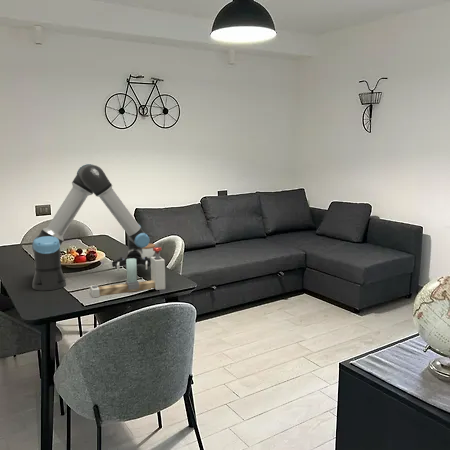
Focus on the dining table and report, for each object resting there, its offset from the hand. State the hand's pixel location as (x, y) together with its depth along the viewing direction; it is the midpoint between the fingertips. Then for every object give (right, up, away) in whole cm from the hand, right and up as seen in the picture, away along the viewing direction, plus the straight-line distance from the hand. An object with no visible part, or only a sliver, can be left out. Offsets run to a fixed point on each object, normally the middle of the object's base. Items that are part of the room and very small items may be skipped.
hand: (132, 267), depth 221 cm
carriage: (+1, -9, -6) cm, 11 cm away
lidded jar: (-3, 0, +59) cm, 59 cm away
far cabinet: (+13, -9, 0) cm, 16 cm away
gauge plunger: (+13, -1, -2) cm, 13 cm away
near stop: (-14, -11, -12) cm, 22 cm away
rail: (-1, -10, -7) cm, 12 cm away
